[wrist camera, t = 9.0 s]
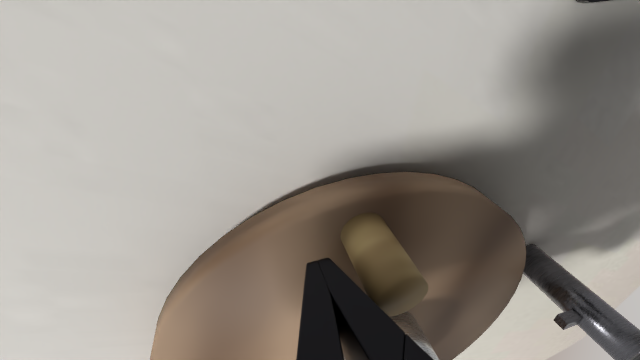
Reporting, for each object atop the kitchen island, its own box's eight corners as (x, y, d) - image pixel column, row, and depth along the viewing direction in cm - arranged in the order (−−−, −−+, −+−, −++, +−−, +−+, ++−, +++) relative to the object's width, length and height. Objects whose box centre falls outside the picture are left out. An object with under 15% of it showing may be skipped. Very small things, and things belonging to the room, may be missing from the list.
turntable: (560, 130, 13) (686, 182, 10) (463, 347, 25) (503, 407, 22) (50, 245, 9) (-60, 403, 6) (221, 436, 21) (221, 527, 18)
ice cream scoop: (546, 231, 19) (793, 415, 11) (526, 268, 22) (717, 445, 13) (508, 242, 19) (738, 445, 10) (491, 279, 21) (669, 471, 13)
